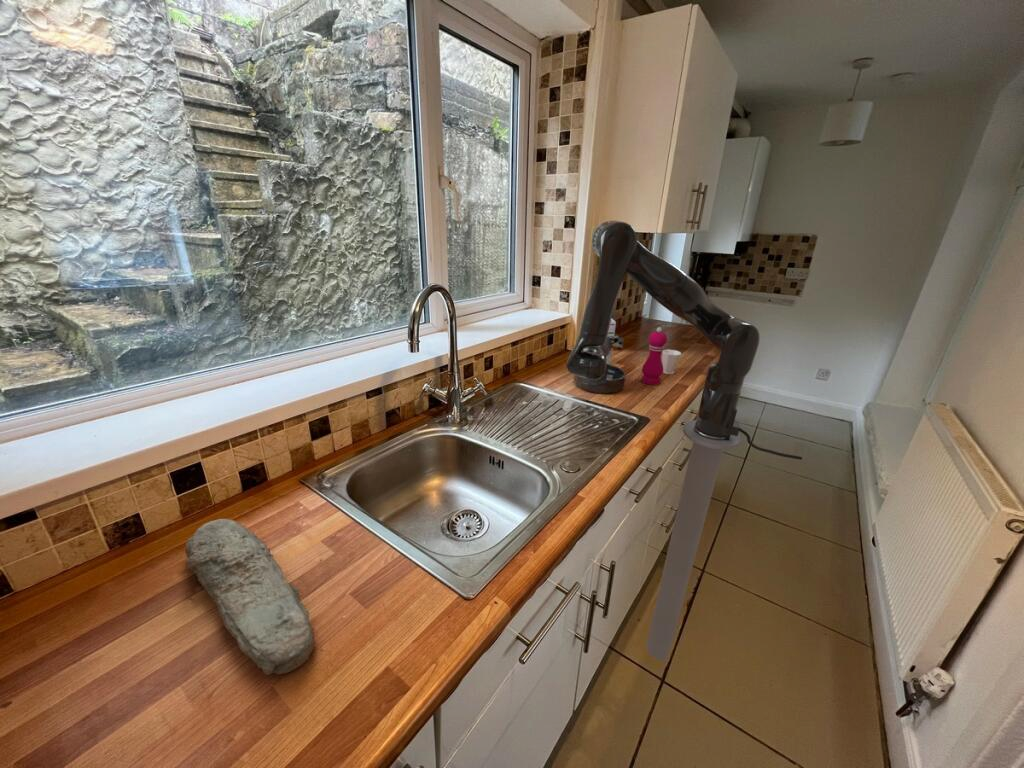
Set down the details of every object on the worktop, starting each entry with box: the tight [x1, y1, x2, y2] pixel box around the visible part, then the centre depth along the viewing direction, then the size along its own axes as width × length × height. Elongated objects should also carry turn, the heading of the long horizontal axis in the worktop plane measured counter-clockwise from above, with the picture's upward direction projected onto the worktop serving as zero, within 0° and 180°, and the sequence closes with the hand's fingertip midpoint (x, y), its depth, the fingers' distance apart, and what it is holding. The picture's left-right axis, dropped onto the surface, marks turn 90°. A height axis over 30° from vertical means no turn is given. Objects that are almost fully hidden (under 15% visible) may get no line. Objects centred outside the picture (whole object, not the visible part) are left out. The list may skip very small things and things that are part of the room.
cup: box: [661, 349, 682, 375], centre depth 155 cm, size 7×10×8 cm
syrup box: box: [606, 318, 617, 365], centre depth 136 cm, size 6×6×14 cm
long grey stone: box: [184, 518, 315, 676], centre depth 61 cm, size 35×5×10 cm
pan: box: [573, 364, 627, 395], centre depth 141 cm, size 17×17×5 cm
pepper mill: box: [641, 326, 668, 386], centre depth 142 cm, size 7×7×20 cm
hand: (604, 335), depth 137 cm, fingers closed on syrup box, 7 cm apart
